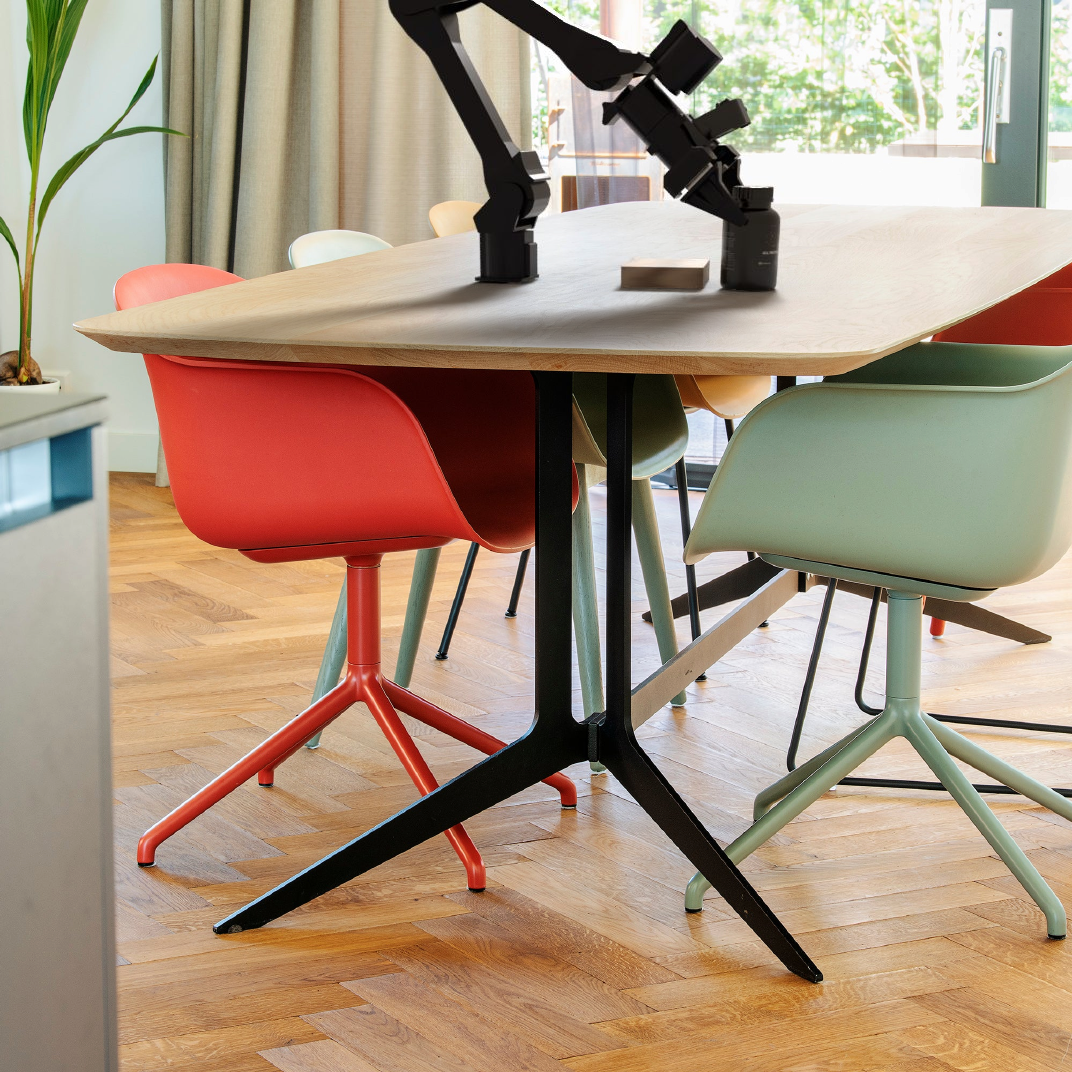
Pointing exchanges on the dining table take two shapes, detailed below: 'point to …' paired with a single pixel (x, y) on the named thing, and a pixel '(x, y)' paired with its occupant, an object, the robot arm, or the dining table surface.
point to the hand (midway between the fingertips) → (750, 221)
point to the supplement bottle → (751, 242)
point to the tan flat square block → (665, 273)
